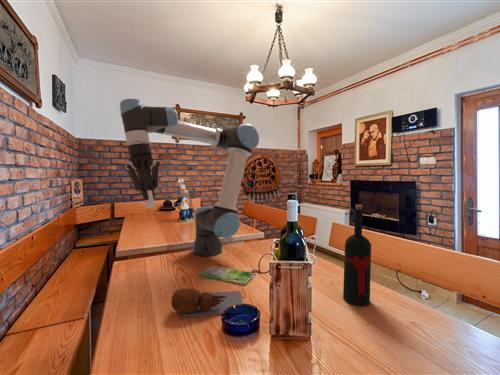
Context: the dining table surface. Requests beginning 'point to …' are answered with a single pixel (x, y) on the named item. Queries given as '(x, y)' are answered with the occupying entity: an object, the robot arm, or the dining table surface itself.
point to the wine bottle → (357, 265)
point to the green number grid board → (227, 275)
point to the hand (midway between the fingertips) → (151, 208)
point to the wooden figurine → (193, 300)
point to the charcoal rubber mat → (230, 300)
